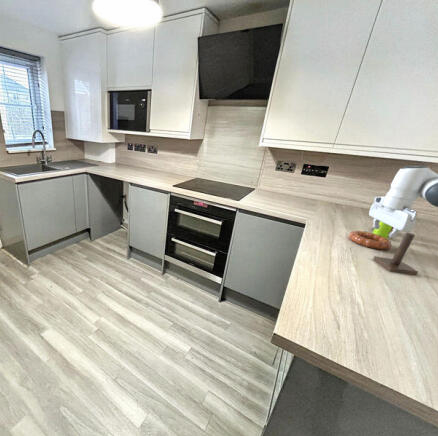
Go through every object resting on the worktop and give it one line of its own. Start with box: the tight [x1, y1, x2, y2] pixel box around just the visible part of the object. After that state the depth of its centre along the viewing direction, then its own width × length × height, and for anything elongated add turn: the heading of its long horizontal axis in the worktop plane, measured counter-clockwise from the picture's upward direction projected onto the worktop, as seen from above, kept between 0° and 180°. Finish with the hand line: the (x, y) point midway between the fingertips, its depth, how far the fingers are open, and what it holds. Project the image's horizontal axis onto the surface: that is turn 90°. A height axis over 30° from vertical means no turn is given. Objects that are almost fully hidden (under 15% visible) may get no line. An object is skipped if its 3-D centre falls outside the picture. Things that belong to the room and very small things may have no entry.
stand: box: [372, 232, 419, 276], centre depth 91 cm, size 9×9×14 cm
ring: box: [348, 230, 393, 250], centre depth 113 cm, size 15×15×4 cm
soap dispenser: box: [372, 222, 392, 239], centre depth 119 cm, size 6×7×20 cm
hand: (382, 232), depth 106 cm, fingers open, 8 cm apart
